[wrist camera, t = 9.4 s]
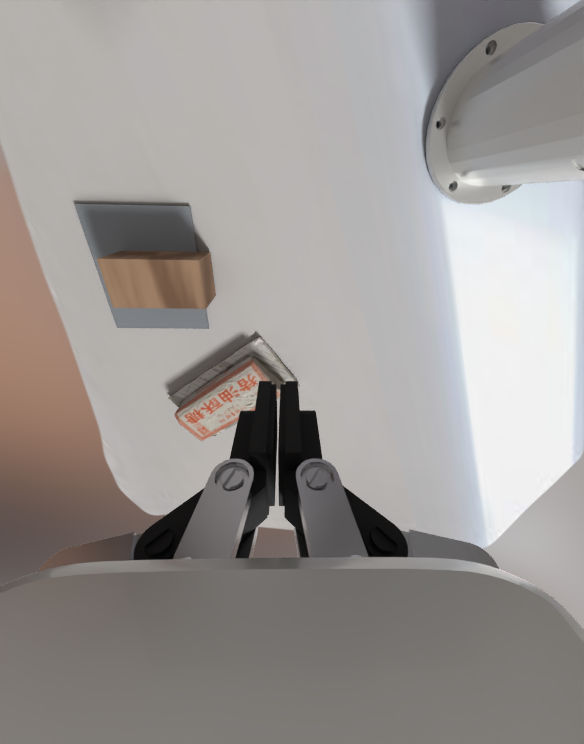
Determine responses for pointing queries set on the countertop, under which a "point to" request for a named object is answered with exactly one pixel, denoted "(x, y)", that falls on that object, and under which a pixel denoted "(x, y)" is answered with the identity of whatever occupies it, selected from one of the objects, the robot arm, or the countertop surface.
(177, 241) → the rubber mat
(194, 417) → the packaged product
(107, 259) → the walnut block
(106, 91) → the countertop surface
